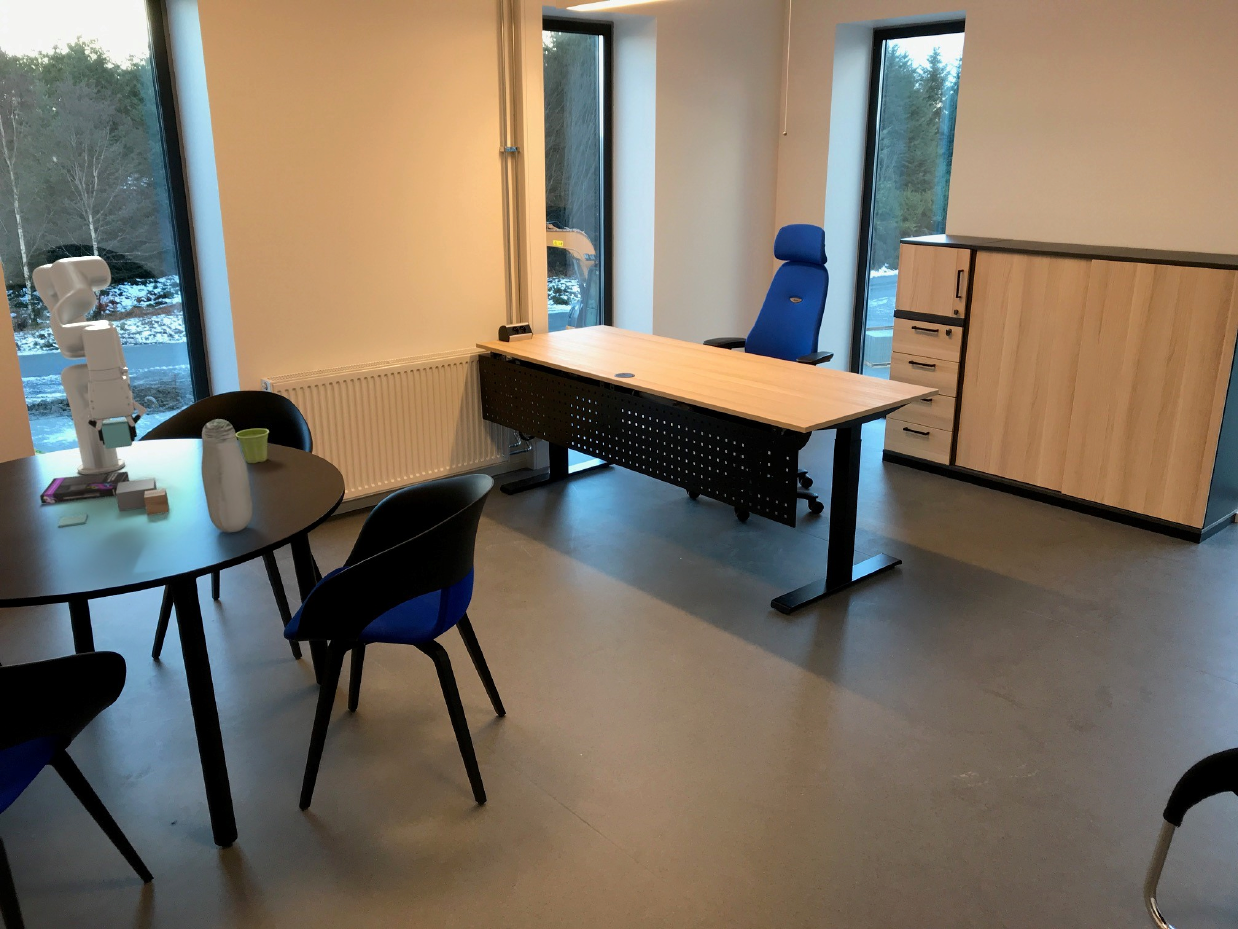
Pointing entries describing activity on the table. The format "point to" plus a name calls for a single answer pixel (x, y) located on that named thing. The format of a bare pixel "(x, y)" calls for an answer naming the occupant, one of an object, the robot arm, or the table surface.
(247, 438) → the plant pot
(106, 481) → the box
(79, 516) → the tile
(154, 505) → the walnut cube
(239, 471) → the white bottle
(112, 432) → the teal cube
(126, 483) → the grey square block
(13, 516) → the table surface
